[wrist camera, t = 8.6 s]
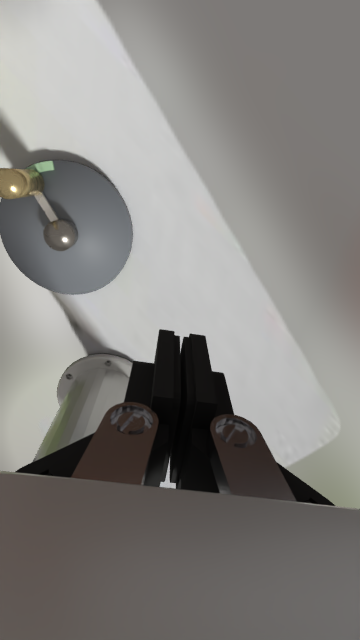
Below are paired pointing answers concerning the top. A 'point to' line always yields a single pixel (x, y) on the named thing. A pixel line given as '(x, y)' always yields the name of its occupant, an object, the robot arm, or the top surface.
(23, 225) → the dial plate
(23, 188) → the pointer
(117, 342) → the top surface
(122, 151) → the top surface
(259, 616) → the robot arm
